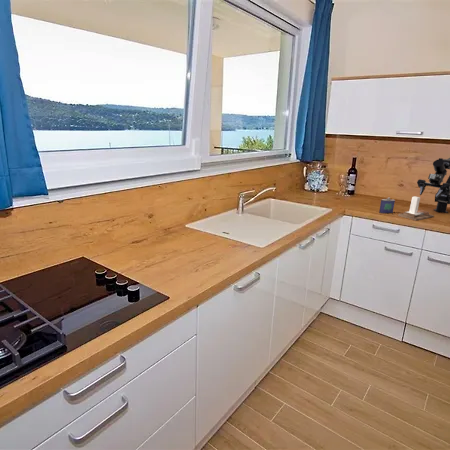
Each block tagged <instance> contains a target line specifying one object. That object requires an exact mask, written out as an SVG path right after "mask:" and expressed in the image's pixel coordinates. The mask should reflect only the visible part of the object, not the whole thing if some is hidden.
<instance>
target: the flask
mask: <svg viewBox="0 0 450 450" xmlns="http://www.w3.org/2000/svg"><path fill="white" fill-rule="evenodd" d="M395 203H396V200H395V199H391V197H390V196H389V197H387V198H383V199H380V206H379V211H378V213H379V214H385V215H386V214H393V213H394V207H395Z"/></svg>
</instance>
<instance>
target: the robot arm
mask: <svg viewBox="0 0 450 450" xmlns="http://www.w3.org/2000/svg"><path fill="white" fill-rule="evenodd" d="M432 165H433V166H432V167H433V169H434V173H429V175H428V177H427V179H428V182H427V181H426V179H417V181H416V183H417V186H418V188H419V196H422V195H423V193H424V191H425V190H426V187H433V188H437V189H438V191H436V193H435V195H434V203H436V207H435V208H433V211H435V212H437V213H447V214H449V212H448V211H447V208H448V205H450V175H448V177H447V180H446V181H445V182H444V178H445V176H447V174H448V173H447V172H448V170H450V157H449V158H442V157H440V158H438V159H436V160H434V161H433V162H432Z"/></svg>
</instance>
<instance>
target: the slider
mask: <svg viewBox="0 0 450 450" xmlns="http://www.w3.org/2000/svg"><path fill="white" fill-rule="evenodd" d="M420 202H421V196H414V195H413V196H412V197H411V202H410V205H409V210H407V211H406V212H407V213H411V214H415V216H416V215H420V214H421V213H417V211H418V209H419V206H420Z"/></svg>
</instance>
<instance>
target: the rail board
mask: <svg viewBox="0 0 450 450" xmlns="http://www.w3.org/2000/svg"><path fill="white" fill-rule="evenodd" d="M407 212H408V211H403V213H398V214H397V216H398V217H399V218H405V219H408V218H409V219H408V220H411V219H412V221H421V220H425V219H426V220H427V219H430V218H434V217H435V215H433V214H430V211H428V210H427V211H426V210H423V209H419V208H418V211H417V213H421V214H420V215H416V216H415V214H411V213H407Z"/></svg>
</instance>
